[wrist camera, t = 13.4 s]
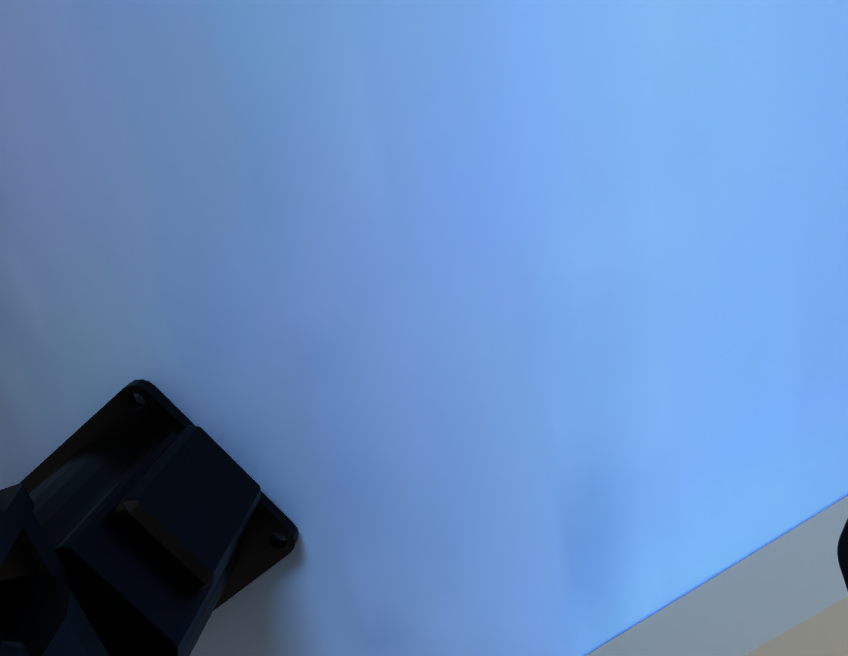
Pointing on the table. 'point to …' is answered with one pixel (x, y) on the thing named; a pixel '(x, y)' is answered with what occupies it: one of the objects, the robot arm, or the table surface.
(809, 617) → the socket block
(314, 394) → the table surface
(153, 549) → the robot arm
